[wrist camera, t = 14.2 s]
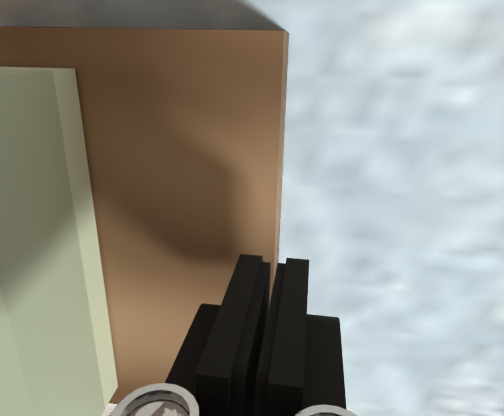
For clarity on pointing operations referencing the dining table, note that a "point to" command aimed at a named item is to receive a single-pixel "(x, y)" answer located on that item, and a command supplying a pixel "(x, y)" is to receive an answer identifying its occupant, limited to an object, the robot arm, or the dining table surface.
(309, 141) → the dining table surface
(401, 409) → the dining table surface
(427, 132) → the dining table surface
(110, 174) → the well board
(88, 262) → the slide cover
